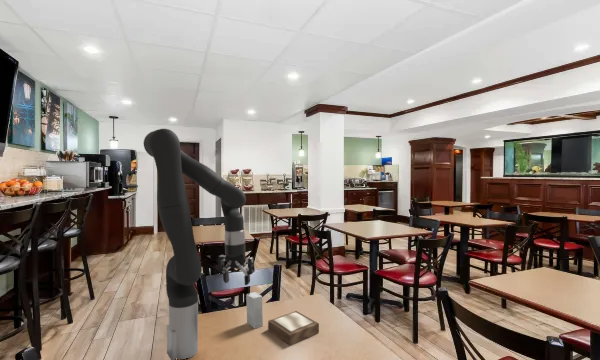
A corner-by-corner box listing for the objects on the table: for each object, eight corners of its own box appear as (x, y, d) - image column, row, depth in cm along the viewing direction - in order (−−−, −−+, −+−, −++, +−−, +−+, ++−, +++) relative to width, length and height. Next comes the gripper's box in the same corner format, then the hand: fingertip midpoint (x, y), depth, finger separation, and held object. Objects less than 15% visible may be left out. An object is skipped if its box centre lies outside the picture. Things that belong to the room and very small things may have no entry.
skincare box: (263, 325, 123) (263, 295, 123) (253, 329, 121) (253, 298, 120) (255, 320, 128) (255, 291, 128) (245, 323, 125) (245, 293, 125)
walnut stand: (289, 345, 110) (290, 334, 109) (268, 329, 120) (268, 319, 120) (318, 332, 118) (318, 322, 118) (296, 319, 129) (296, 309, 129)
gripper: (212, 243, 115) (214, 285, 116) (247, 245, 111) (249, 289, 112) (223, 238, 122) (225, 278, 123) (256, 239, 118) (258, 281, 119)
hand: (236, 283), depth 117 cm, fingers open, 8 cm apart
